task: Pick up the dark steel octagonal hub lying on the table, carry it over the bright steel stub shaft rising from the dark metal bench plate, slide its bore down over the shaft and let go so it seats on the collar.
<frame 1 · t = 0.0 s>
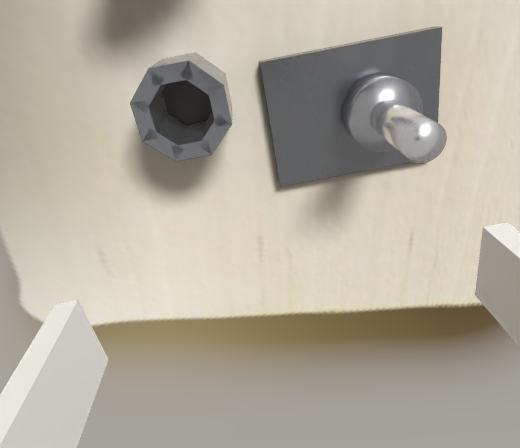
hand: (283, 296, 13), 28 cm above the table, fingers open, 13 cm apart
shaft fixture: (371, 106, 38), on the table
hub: (189, 98, 37), on the table
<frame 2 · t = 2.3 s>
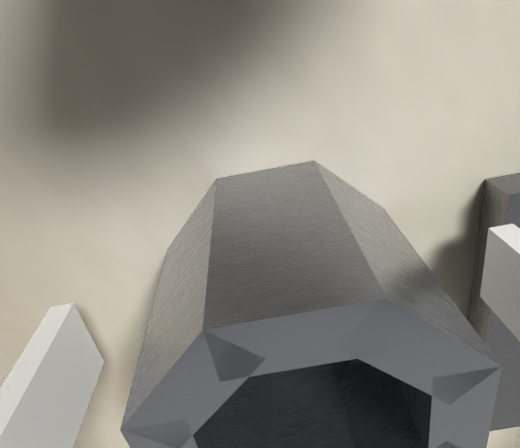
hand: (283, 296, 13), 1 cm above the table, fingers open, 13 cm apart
hub: (282, 266, 14), on the table
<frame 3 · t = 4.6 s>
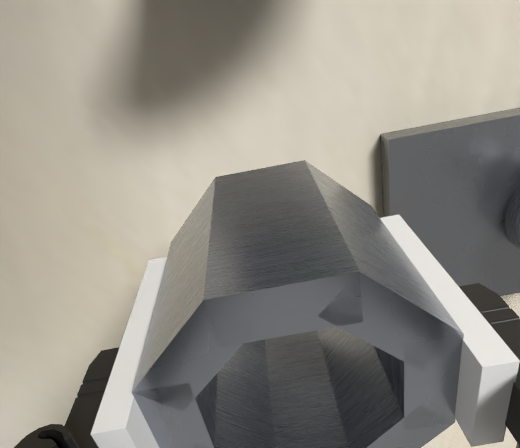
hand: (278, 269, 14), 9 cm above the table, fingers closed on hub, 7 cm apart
hub: (276, 258, 15), point 8 cm above the table, touching gripper
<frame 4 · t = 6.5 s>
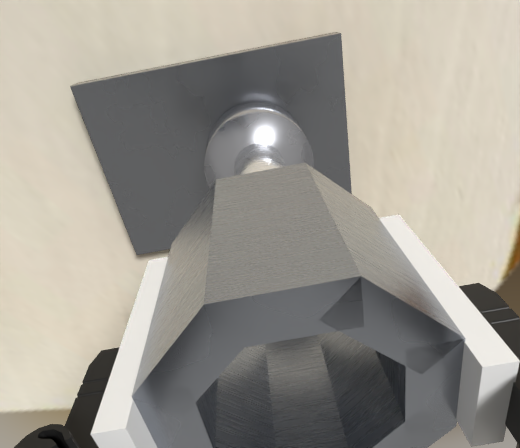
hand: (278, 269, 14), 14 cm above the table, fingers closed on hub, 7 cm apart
shaft fixture: (255, 146, 27), on the table
hub: (277, 260, 15), point 13 cm above the table, touching gripper
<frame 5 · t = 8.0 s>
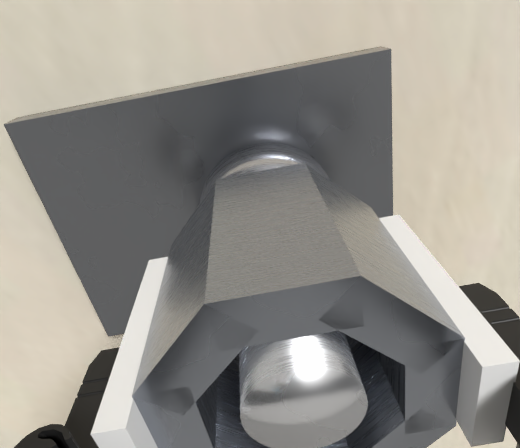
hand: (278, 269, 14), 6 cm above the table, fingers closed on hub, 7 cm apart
shaft fixture: (265, 198, 20), on the table
hub: (276, 260, 15), point 5 cm above the table, touching gripper
when the fingers open (6 cm above the table, at t = 8.9 s): hub stays where it is, resting on shaft fixture.
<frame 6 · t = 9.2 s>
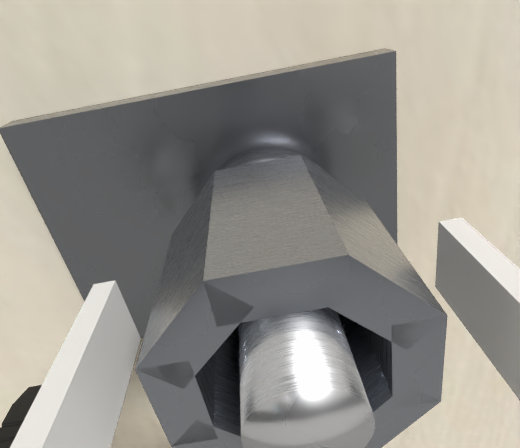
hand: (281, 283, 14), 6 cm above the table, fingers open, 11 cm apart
shaft fixture: (266, 203, 19), on the table
hub: (273, 249, 16), point 4 cm above the table, touching shaft fixture
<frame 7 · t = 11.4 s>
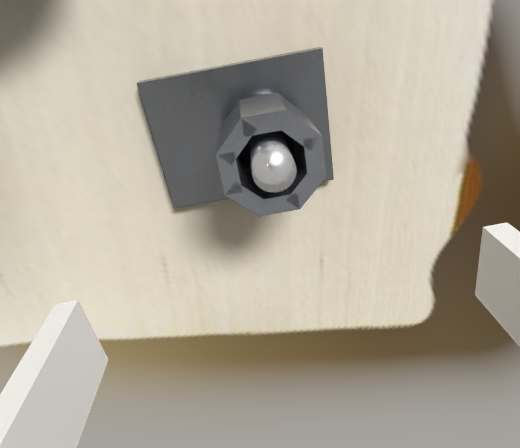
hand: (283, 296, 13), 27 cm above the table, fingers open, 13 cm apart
shaft fixture: (262, 127, 37), on the table
hub: (265, 140, 33), point 4 cm above the table, touching shaft fixture
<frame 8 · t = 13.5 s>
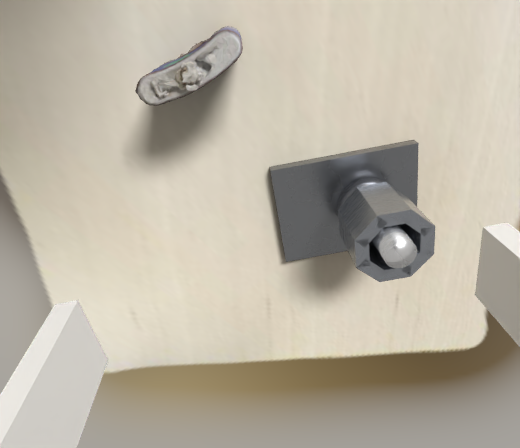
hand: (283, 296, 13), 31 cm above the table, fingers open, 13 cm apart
shaft fixture: (361, 198, 46), on the table
hub: (372, 215, 42), point 4 cm above the table, touching shaft fixture
flask: (198, 60, 38), on the table
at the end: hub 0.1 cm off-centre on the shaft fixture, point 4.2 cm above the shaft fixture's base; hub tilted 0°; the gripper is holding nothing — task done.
